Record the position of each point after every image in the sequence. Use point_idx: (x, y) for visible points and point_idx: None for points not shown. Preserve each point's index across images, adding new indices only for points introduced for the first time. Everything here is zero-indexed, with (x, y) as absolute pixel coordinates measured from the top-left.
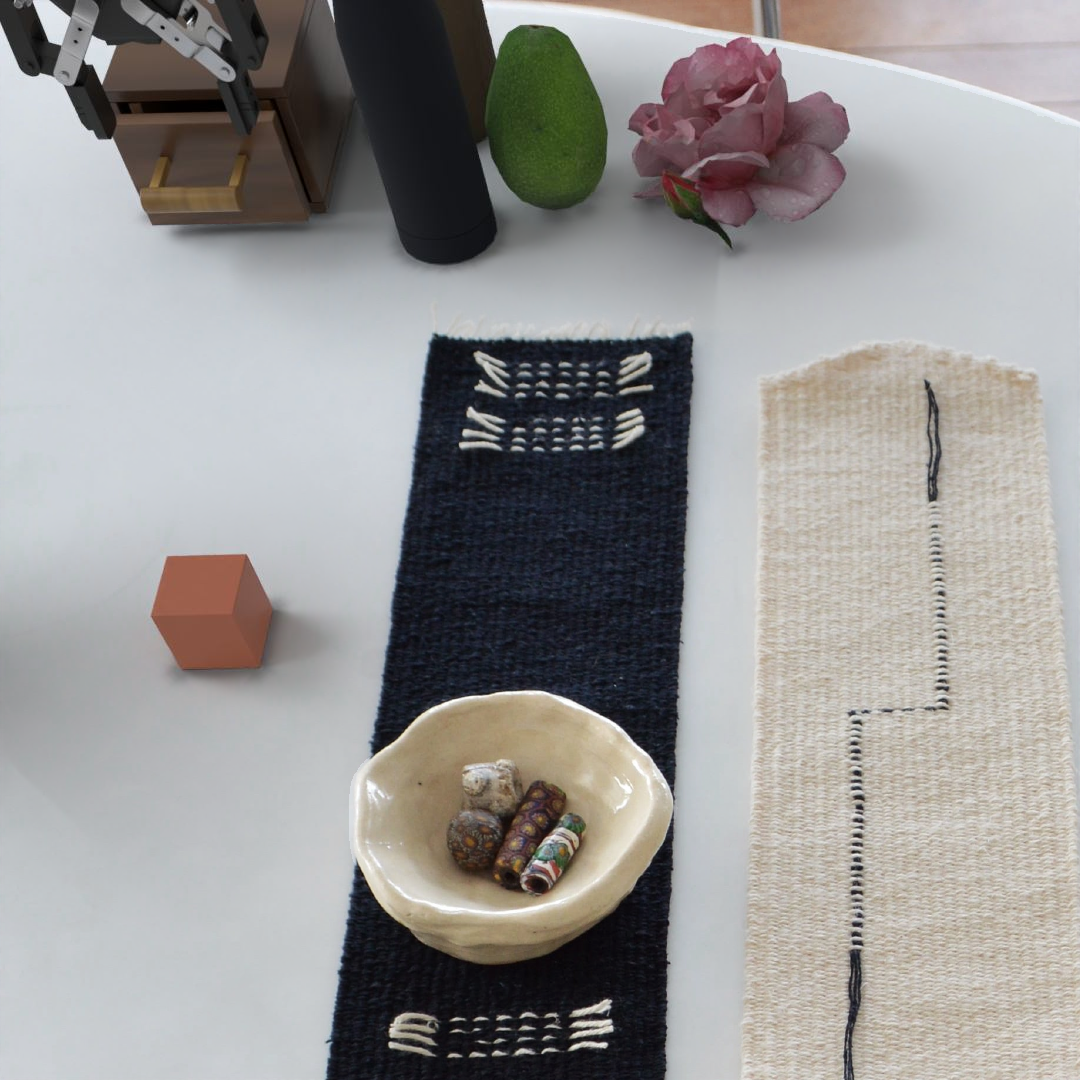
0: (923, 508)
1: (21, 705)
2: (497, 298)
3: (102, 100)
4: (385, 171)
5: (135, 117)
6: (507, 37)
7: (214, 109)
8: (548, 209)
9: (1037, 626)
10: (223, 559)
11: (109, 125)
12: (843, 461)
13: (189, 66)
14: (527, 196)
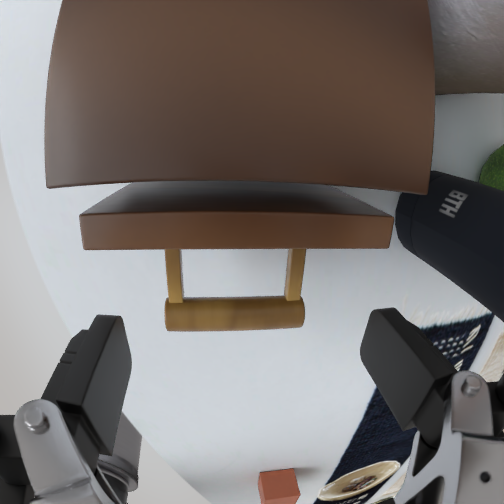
0: (499, 376)
1: (198, 491)
2: (440, 289)
3: (109, 371)
4: (456, 280)
5: (126, 227)
6: None
7: None
8: None
9: None
10: (290, 497)
11: (124, 355)
12: (496, 365)
13: (231, 87)
14: None
